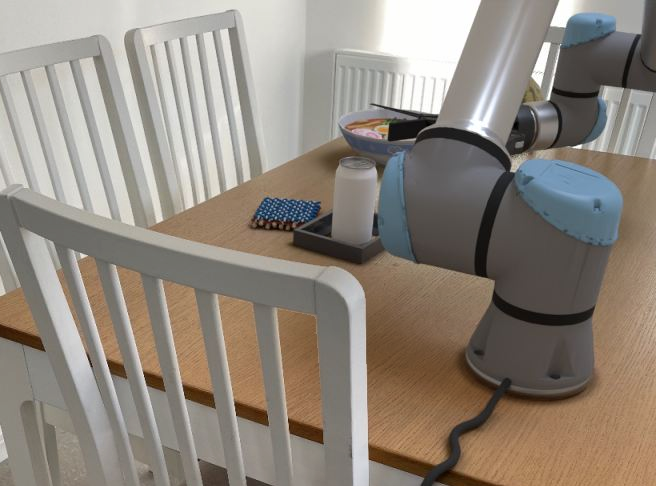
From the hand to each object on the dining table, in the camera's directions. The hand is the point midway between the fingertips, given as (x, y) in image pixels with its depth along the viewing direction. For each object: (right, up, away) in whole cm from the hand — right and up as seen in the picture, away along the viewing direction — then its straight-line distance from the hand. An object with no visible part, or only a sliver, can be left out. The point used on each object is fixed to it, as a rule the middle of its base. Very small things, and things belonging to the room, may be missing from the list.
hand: (412, 143), depth 128 cm
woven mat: (-19, -8, +12) cm, 24 cm away
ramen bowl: (+2, +12, +37) cm, 39 cm away
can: (-9, -13, +5) cm, 17 cm away
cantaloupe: (+26, +19, +46) cm, 56 cm away
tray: (-9, -13, +5) cm, 17 cm away
